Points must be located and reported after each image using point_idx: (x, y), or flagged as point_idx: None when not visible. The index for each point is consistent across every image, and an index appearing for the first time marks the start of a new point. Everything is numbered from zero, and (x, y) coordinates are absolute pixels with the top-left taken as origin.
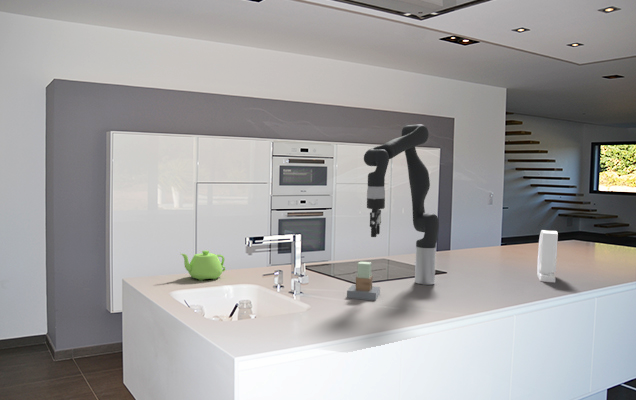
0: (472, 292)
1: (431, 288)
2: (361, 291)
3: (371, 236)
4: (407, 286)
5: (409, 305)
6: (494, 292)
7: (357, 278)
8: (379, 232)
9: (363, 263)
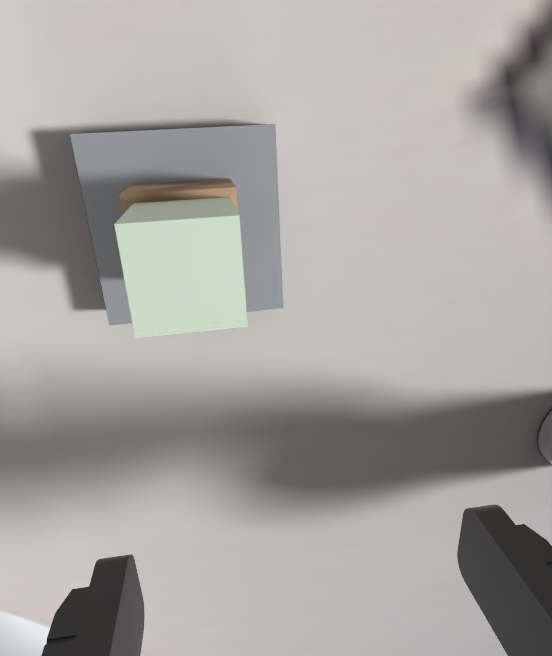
0: (443, 595)
1: (473, 471)
2: (104, 235)
3: (101, 563)
4: (490, 377)
5: (110, 464)
6: (463, 642)
7: (122, 207)
8: (480, 592)
9: (145, 277)
